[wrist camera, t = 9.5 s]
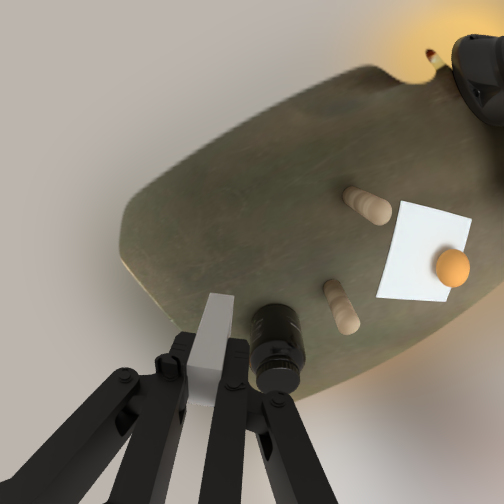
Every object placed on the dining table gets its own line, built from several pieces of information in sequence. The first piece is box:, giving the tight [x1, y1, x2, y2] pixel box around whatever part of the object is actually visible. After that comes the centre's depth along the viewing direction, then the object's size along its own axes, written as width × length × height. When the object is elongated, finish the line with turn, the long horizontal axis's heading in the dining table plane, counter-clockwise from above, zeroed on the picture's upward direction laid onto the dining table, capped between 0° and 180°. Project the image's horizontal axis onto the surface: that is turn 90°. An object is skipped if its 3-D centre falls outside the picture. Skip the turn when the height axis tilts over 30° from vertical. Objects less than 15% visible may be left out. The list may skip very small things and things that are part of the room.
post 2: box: [342, 186, 392, 225], centre depth 29 cm, size 2×2×9 cm
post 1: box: [323, 279, 360, 335], centre depth 33 cm, size 2×2×9 cm
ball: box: [436, 249, 470, 287], centre depth 33 cm, size 6×6×6 cm
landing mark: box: [376, 201, 472, 302], centre depth 35 cm, size 14×14×1 cm
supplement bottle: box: [249, 305, 306, 394], centre depth 34 cm, size 7×7×12 cm
